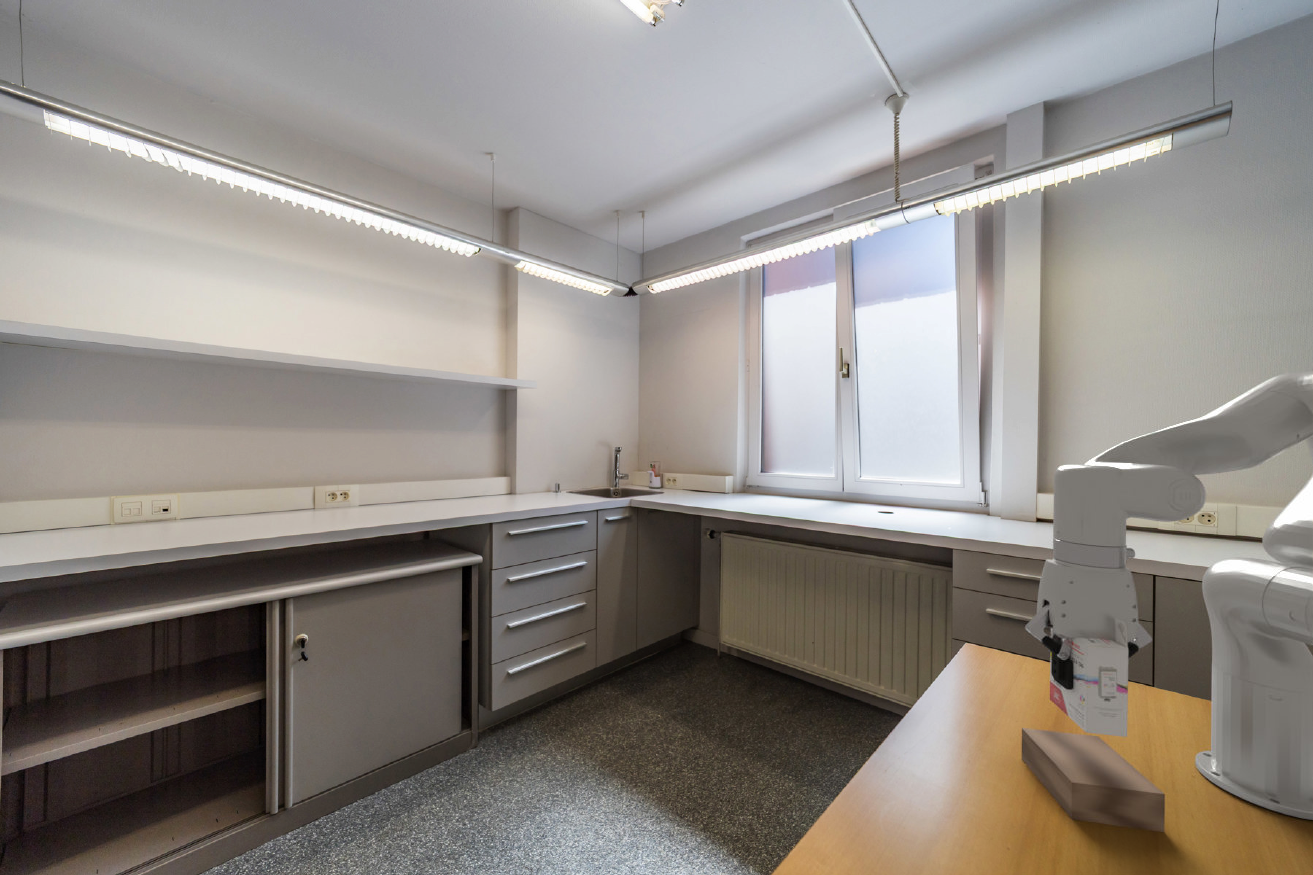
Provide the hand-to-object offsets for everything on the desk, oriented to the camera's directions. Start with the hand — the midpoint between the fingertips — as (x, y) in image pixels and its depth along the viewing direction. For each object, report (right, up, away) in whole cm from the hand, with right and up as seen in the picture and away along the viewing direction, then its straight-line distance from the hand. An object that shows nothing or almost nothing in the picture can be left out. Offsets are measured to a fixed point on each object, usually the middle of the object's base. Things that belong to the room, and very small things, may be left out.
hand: (1086, 685), depth 68 cm
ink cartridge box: (0, -5, 0) cm, 5 cm away
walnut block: (0, -15, 0) cm, 15 cm away
